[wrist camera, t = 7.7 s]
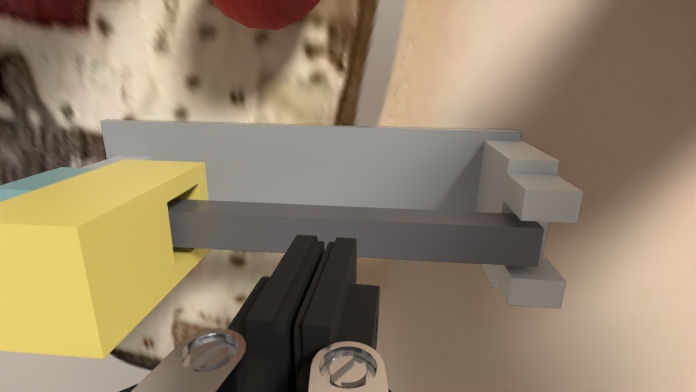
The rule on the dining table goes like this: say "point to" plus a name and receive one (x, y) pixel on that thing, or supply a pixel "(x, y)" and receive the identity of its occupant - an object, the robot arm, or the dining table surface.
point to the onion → (266, 11)
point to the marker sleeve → (92, 256)
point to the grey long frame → (360, 193)
